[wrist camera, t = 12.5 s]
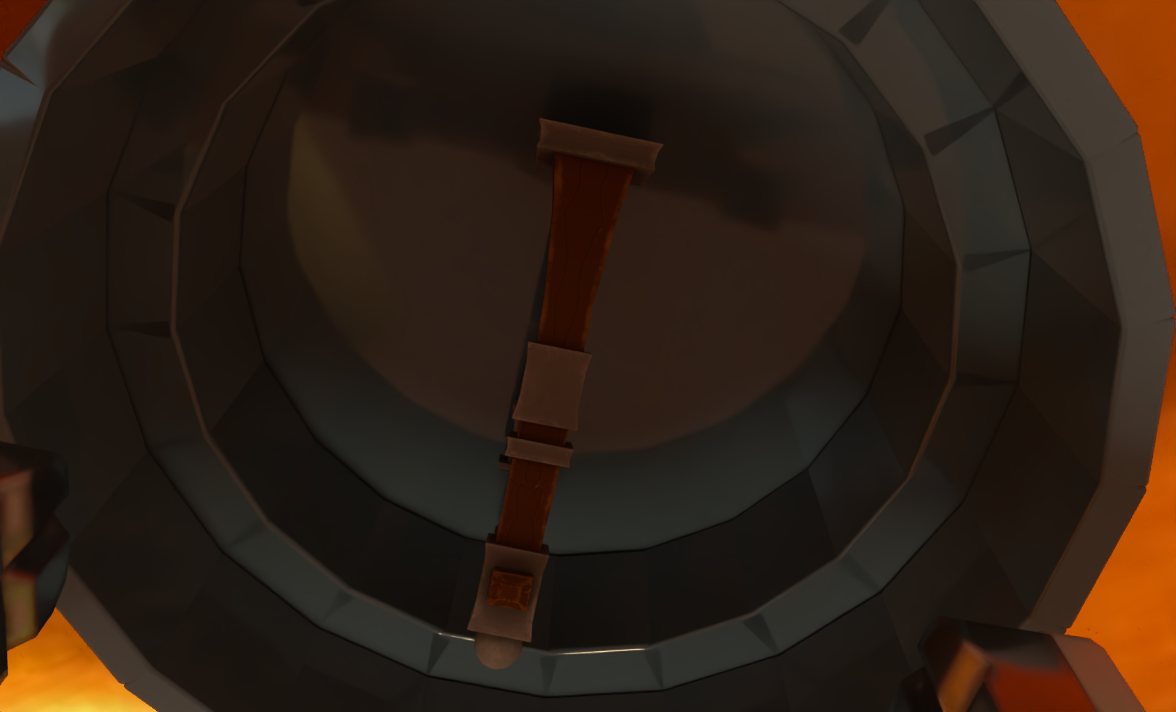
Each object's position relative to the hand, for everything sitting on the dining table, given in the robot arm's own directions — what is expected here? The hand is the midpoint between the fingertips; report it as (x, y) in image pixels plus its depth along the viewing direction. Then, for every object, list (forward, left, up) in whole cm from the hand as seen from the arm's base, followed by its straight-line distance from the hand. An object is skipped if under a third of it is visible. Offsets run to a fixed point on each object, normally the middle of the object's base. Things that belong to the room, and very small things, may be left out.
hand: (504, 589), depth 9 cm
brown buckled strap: (+1, -1, -8) cm, 8 cm away
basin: (0, 0, -9) cm, 9 cm away
